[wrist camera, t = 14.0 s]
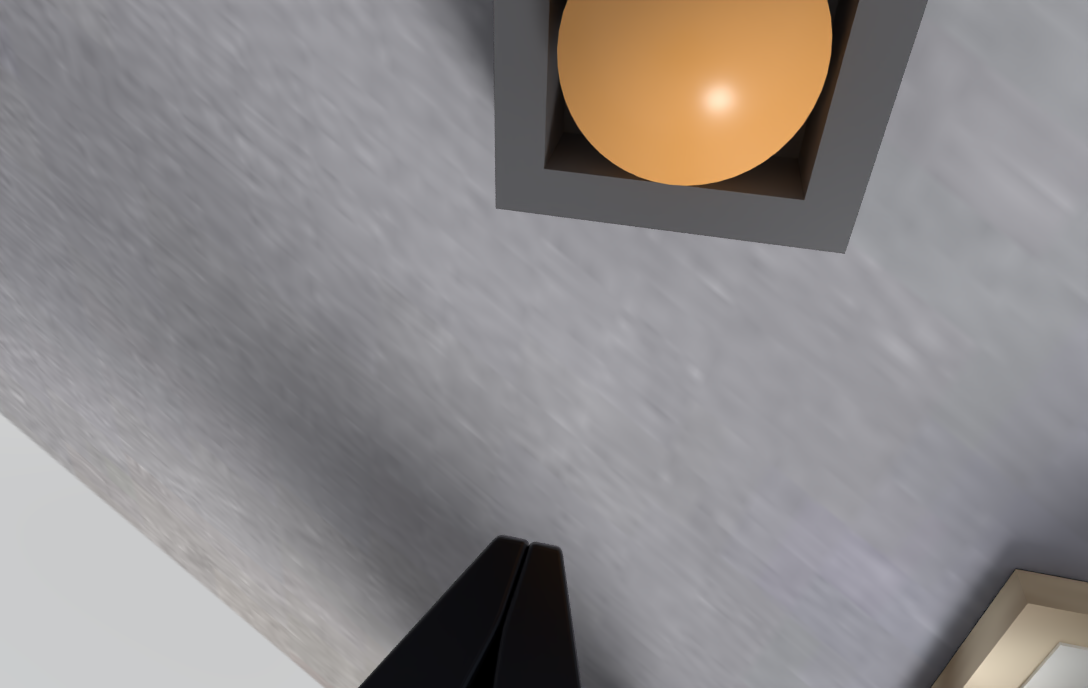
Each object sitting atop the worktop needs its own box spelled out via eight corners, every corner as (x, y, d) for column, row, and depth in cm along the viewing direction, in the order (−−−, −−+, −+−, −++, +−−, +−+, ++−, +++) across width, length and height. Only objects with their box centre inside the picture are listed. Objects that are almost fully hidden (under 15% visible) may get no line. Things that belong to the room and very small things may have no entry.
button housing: (830, 188, 16) (844, 253, 14) (528, 152, 17) (495, 208, 15) (944, -200, 12) (992, -198, 10) (535, -215, 13) (491, -216, 11)
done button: (787, 147, 15) (793, 199, 13) (575, 124, 15) (552, 170, 14) (849, -104, 12) (869, -86, 10) (589, -119, 13) (563, -104, 11)
